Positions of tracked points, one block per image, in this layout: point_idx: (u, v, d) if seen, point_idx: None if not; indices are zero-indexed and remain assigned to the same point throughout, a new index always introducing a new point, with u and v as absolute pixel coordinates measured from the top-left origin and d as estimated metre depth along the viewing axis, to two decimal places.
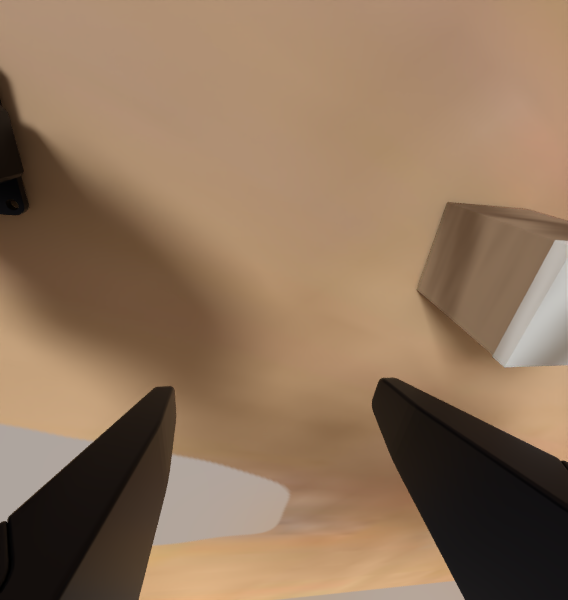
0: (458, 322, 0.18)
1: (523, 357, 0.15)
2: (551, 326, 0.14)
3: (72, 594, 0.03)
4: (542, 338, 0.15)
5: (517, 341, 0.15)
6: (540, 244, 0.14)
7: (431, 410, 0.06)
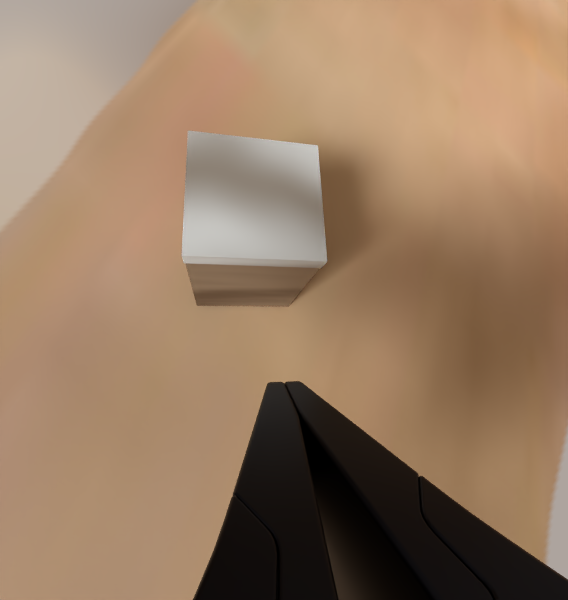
0: (302, 285, 0.17)
1: (313, 244, 0.14)
2: (273, 231, 0.14)
3: None
4: (288, 232, 0.14)
5: (293, 260, 0.14)
6: (194, 266, 0.14)
7: (313, 418, 0.06)
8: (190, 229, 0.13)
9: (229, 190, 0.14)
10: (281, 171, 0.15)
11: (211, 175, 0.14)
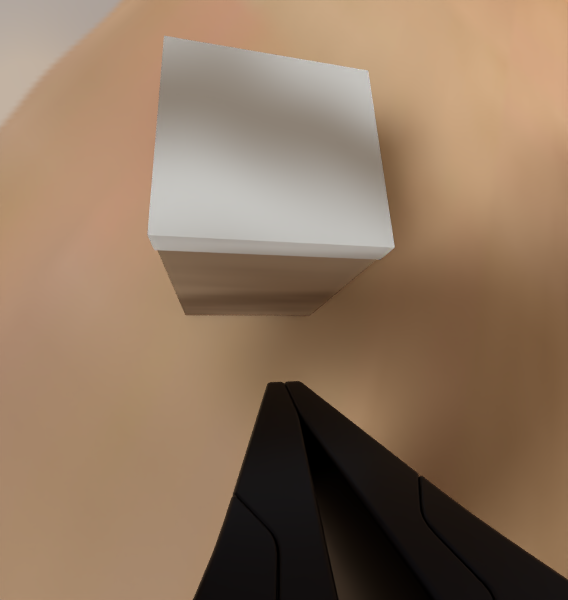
0: (337, 287, 0.12)
1: (370, 219, 0.08)
2: (305, 197, 0.08)
3: None
4: (329, 200, 0.08)
5: (340, 245, 0.08)
6: (173, 256, 0.08)
7: (313, 418, 0.06)
8: (164, 190, 0.07)
9: (231, 130, 0.08)
10: (314, 105, 0.09)
11: (202, 105, 0.08)
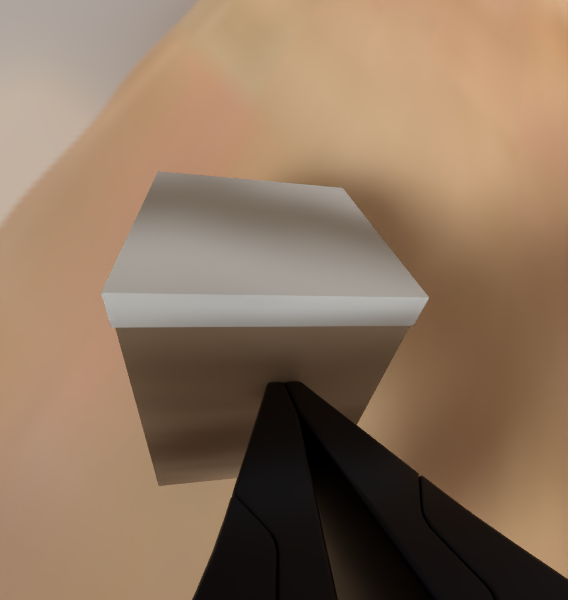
0: (365, 397, 0.09)
1: (387, 274, 0.07)
2: (304, 258, 0.07)
3: None
4: (334, 261, 0.07)
5: (359, 300, 0.06)
6: (138, 343, 0.06)
7: (313, 417, 0.06)
8: (134, 255, 0.06)
9: (217, 218, 0.08)
10: (299, 203, 0.09)
11: (188, 203, 0.08)
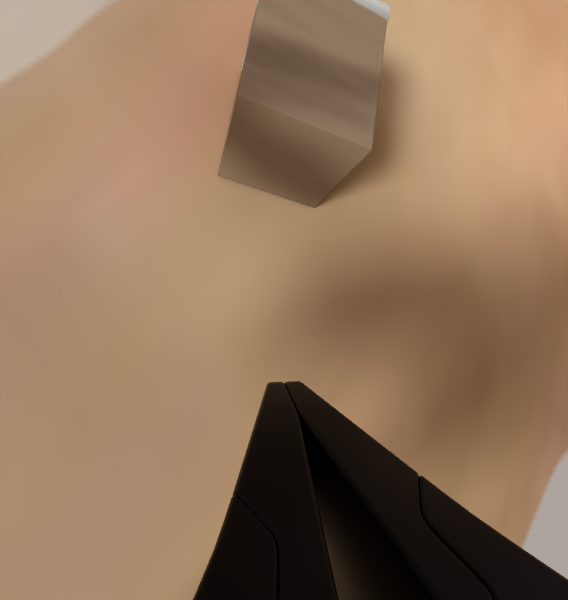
0: (378, 65, 0.15)
1: None
2: None
3: None
4: None
5: None
6: None
7: (313, 417, 0.06)
8: None
9: None
10: None
11: None
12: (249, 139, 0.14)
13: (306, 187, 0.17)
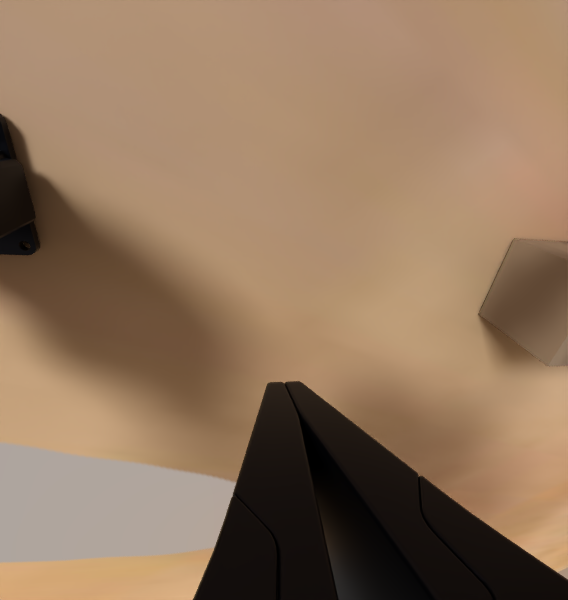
0: None
1: None
2: None
3: None
4: None
5: None
6: None
7: (312, 418, 0.06)
8: None
9: None
10: None
11: None
12: (557, 275, 0.18)
13: (502, 311, 0.22)
